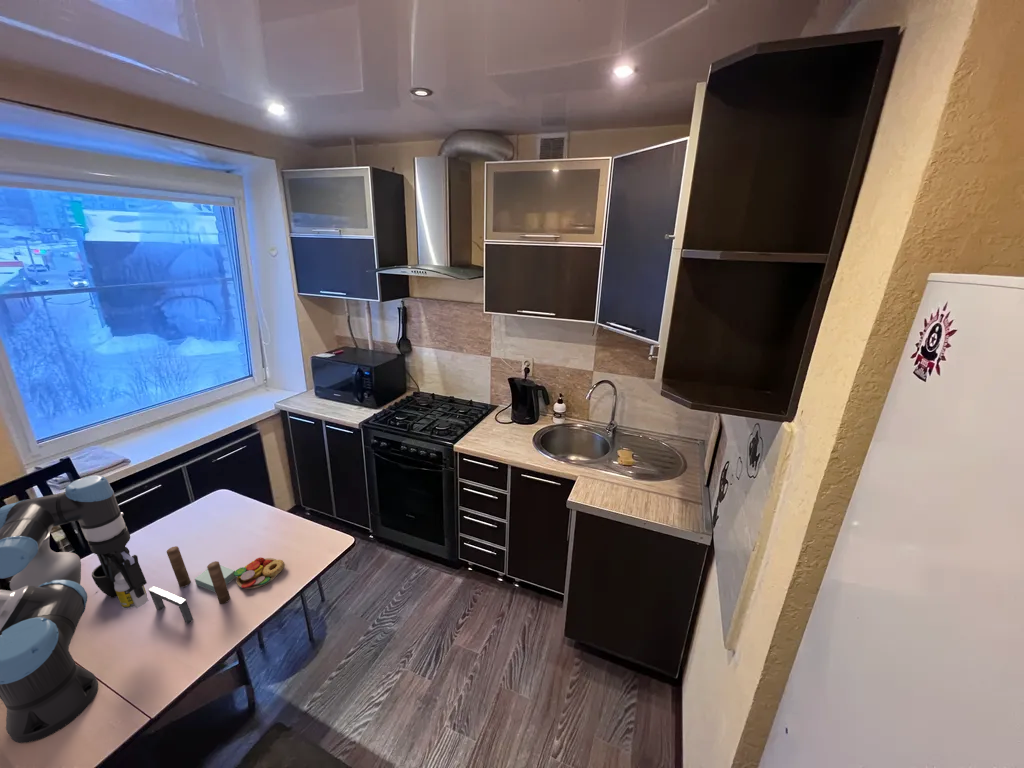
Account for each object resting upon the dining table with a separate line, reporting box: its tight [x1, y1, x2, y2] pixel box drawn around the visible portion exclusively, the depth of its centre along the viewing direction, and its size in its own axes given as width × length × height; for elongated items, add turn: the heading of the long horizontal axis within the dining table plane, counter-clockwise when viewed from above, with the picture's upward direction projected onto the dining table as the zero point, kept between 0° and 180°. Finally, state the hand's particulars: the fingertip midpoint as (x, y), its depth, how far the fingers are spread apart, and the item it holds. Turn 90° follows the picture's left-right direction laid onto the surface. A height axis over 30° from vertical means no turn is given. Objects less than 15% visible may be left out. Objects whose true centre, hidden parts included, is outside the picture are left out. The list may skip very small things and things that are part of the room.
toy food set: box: [234, 557, 286, 590], centre depth 140 cm, size 13×13×3 cm
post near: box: [206, 560, 231, 605], centre depth 129 cm, size 3×3×14 cm
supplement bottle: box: [114, 572, 148, 610], centre depth 114 cm, size 5×5×10 cm
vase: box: [9, 531, 82, 591], centre depth 125 cm, size 14×14×25 cm
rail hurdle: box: [148, 585, 194, 625], centre depth 125 cm, size 2×14×8 cm, turn 70°
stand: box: [194, 565, 237, 593], centre depth 138 cm, size 7×9×2 cm
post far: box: [166, 546, 192, 588], centre depth 134 cm, size 3×3×14 cm
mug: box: [91, 562, 124, 598], centre depth 133 cm, size 8×12×10 cm
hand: (134, 600), depth 116 cm, fingers closed on supplement bottle, 5 cm apart
